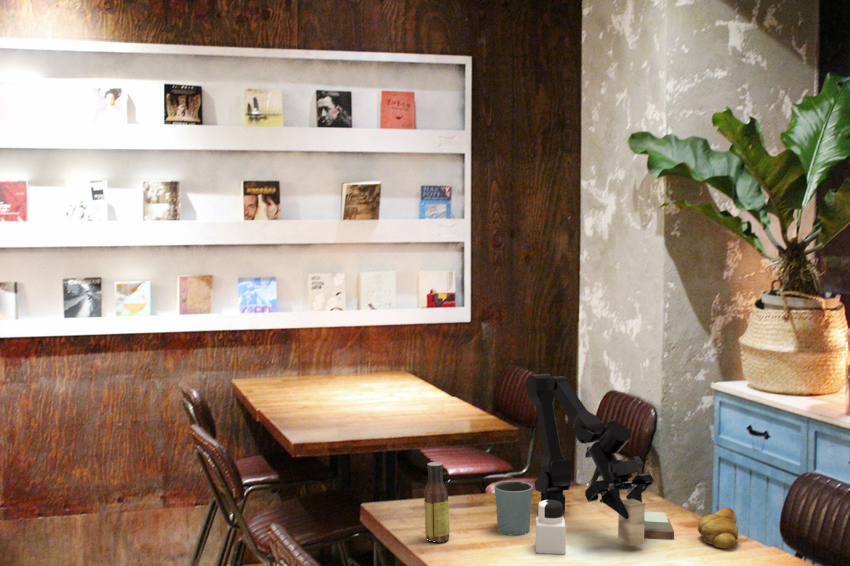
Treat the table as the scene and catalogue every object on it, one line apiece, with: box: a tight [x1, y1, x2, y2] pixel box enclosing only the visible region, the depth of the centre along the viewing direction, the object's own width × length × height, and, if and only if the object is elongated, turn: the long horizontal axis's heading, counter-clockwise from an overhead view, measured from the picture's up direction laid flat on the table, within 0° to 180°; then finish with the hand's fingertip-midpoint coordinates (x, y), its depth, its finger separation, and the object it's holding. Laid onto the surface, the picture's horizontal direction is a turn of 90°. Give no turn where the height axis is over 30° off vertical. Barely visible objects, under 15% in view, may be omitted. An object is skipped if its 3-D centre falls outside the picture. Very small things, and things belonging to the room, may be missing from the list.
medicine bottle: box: [535, 500, 567, 555], centre depth 218 cm, size 7×7×12 cm
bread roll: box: [697, 507, 739, 549], centre depth 224 cm, size 13×10×8 cm
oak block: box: [617, 499, 646, 547], centre depth 219 cm, size 4×4×10 cm
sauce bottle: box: [423, 461, 450, 543], centre depth 225 cm, size 7×6×20 cm
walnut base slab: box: [644, 518, 675, 540], centre depth 232 cm, size 11×11×2 cm
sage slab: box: [644, 511, 669, 530], centre depth 232 cm, size 8×8×2 cm
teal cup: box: [493, 480, 534, 536], centre depth 233 cm, size 10×10×12 cm
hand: (635, 517), depth 218 cm, fingers closed on oak block, 4 cm apart
